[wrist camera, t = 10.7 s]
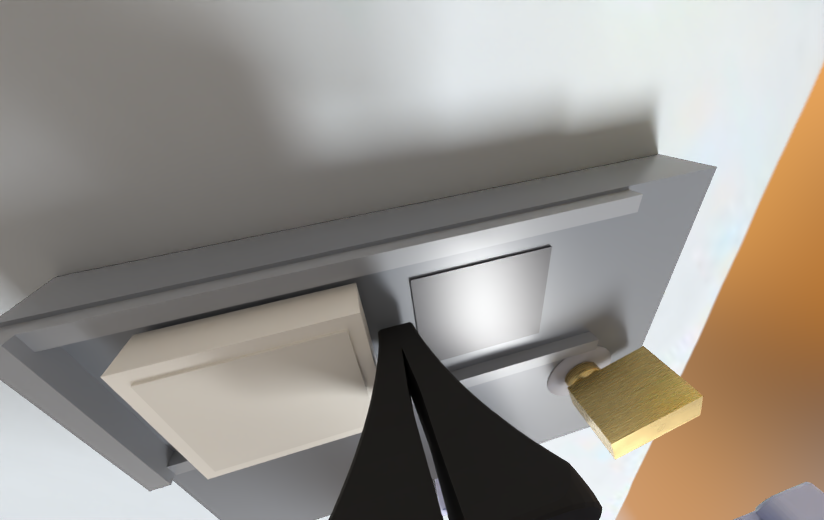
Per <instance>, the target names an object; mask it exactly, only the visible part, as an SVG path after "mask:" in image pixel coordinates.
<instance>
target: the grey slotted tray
mask: <svg viewBox="0 0 824 520" xmlns="http://www.w3.org/2000/svg"><path fill="white" fill-rule="evenodd" d="M716 168H717V167H715V166H710V165H706V164H701V163H697V162H692V161H687V160H683V159H678V158H674V157H669V156H664V155H660V154H658V155H653V156H648V157H643V158H638V159H634V160H629V161H624V162H619V163H614V164H609V165H604V166H599V167H594V168H589V169H584V170H580V171H575V172H570V173H565V174H560V175H555V176H550V177H545V178H540V179H535V180H530V181H525V182H521V183H516V184H511V185H506V186H501V187H496V188H491V189H486V190H481V191H476V192H471V193H467V194H462V195H457V196H452V197H447V198H442V199H437V200H432V201H427V202H422V203H417V204H412V205H408V206H403V207H398V208H393V209H388V210H383V211H378V212H373V213H368V214H363V215H358V216H354V217H349V218H344V219H339V220H334V221H329V222H324V223H319V224H314V225H309V226H304V227H299V228H295V229H290V230H285V231H280V232H275V233H270V234H265V235H260V236H255V237H250V238H245V239H241V240H236V241H231V242H226V243H221V244H216V245H211V246H206V247H201V248H196V249H191V250H186V251H182V252H177V253H172V254H167V255H162V256H157V257H152V258H147V259H142V260H137V261H132V262H127V263H123V264H118V265H113V266H108V267H103V268H98V269H93V270H88V271H83V272H78V273H73V274H69V275H64V276H59V277H55V278H53V279H52V280H51V281H49V282H48V283H46V284H45V285H44V286H42V287H41V288H39V289H38V290H37V291H35V292H34V293H32V294H31V295H30V296H28V297H27V298H25V299H24V300H23V301H21V302H20V303H18V304H17V305H16V306H14V307H13V308H11V309H10V310H9V311H7V312H6V313H4V314H3V315H2V316H0V380H1V381H3V382H4V383H5V384H7V385H8V386H9V387H11V388H12V389H13V390H15V391H16V392H17V393H19V394H20V395H21V396H23V397H24V398H25V399H27V400H28V401H30V402H31V403H32V404H34V405H35V406H36V407H38V408H39V409H40V410H42V411H43V412H44V413H46V414H47V415H48V416H50V417H51V418H52V419H54V420H55V421H56V422H58V423H59V424H60V425H62V426H63V427H64V428H66V429H67V430H68V431H70V432H71V433H72V434H74V435H75V436H76V437H78V438H79V439H80V440H82V441H83V442H84V443H86V444H87V445H88V446H90V447H91V448H92V449H94V450H95V451H96V452H98V453H99V454H100V455H102V456H103V457H104V458H106V459H107V460H108V461H110V462H111V463H112V464H114V465H115V466H117V467H118V468H119V469H121V470H122V471H123V472H125V473H126V474H127V475H129V476H130V477H131V478H133V479H134V480H135V481H137V482H138V483H139V484H141V485H142V486H143V487H145V488H146V489H147V490H149V491H152V490H155V489H158V488H162V487H165V486H168V485H171V483H172V481H174V482H175V483H177V484H178V485H179V486H180V487H181V488H183V489H184V490H185V491H186V492H187V493H189V494H190V495H191V496H192V497H193V498H194V499H196V500H197V501H198V502H199V503H200V504H202V505H203V506H204V507H205V508H206V509H208V510H209V511H210V512H211V513H212V514H214V515H215V516H216V517H217V518H218V519H220V520H316V519H319V518H322V517H325V516H328V515H331V513H332V511H333V509H334V506H335V504H336V502H337V499H338V497H339V494H340V492H341V489H342V487H343V484H344V482H345V479H346V477H347V474H348V472H349V469H350V466H351V464H352V461H353V458H354V455H355V452H356V449H357V446H358V443H359V440H360V437H361V434H362V432H361V433H358V434H355V435H351V436H348V437H345V438H342V439H338V440H335V441H332V442H328V443H325V444H322V445H319V446H315V447H312V448H309V449H306V450H302V451H299V452H296V453H292V454H289V455H286V456H283V457H279V458H276V459H273V460H270V461H266V462H263V463H260V464H257V465H253V466H250V467H247V468H243V469H240V470H237V471H234V472H230V473H227V474H224V475H221V476H217V477H214V478H211V479H207V478H206V477H205V476H204V475H203V474H201V473H200V472H199V471H198V470H197V469H196V468H195V467H194V466H193V465H192V464H191V463H190V462H189V461H188V460H187V459H186V458H185V457H184V456H183V455H182V454H180V453H179V452H178V451H177V450H176V449H175V448H174V447H173V446H172V445H171V444H170V443H169V442H168V441H167V440H166V439H165V438H164V437H163V436H162V435H160V434H159V433H158V432H157V431H156V430H155V429H154V428H153V427H152V426H151V425H150V424H149V423H148V422H147V421H146V420H145V419H144V418H143V417H142V416H141V415H139V414H138V413H137V412H136V411H135V410H134V409H133V408H132V407H131V406H130V405H129V404H128V403H127V402H126V401H125V400H124V399H123V398H122V397H121V396H119V395H118V394H117V393H116V392H115V391H114V390H113V389H112V388H111V387H110V386H109V385H108V384H107V383H106V382H105V381H104V380H103V379H102V378H101V376H102V374H103V373H104V372H105V371H106V369H107V368H108V367H109V365H110V364H111V363H112V361H113V360H114V359H115V358H116V356H117V355H118V354H119V352H120V351H121V350H122V348H123V347H124V346H125V345H126V343H127V342H128V341H129V339H130V338H131V337H132V336H133V335H135V334H139V333H144V332H148V331H152V330H156V329H161V328H165V327H169V326H173V325H178V324H182V323H186V322H190V321H195V320H199V319H203V318H207V317H212V316H216V315H220V314H225V313H229V312H233V311H237V310H242V309H246V308H250V307H254V306H259V305H263V304H267V303H271V302H276V301H280V300H284V299H288V298H293V297H297V296H301V295H305V294H310V293H314V292H318V291H323V290H327V289H331V288H335V287H340V286H344V285H348V284H352V283H356V285H357V288H358V292H359V296H360V299H361V303H362V307H363V311H364V314H365V318H366V322H367V325H368V329H369V333H370V337H371V340H372V344H373V348H374V351H375V355H376V359H377V360H378V348H379V338H378V332H379V331H380V330H381V329H384V328H388V327H392V326H396V325H400V324H404V323H408V322H411V323H413V325H414V327H415V329H416V330H417V332H418V333H419V335H420V336H421V338H422V339H423V340H424V342H425V343H426V344H427V346H428V347H429V348H430V350H431V351H432V352H433V353H434V354H435V356H436V357H437V358H438V359H439V360H440V361H441V363H442V364H443V365H444V366H445V367H446V368H447V369H448V370H449V371H450V372H451V373H452V374H453V375H454V376H455V377H456V379H457V380H458V381H460V382H461V383H462V384H463V385H464V386H465V387H466V388H467V389H468V390H469V391H470V392H471V393H472V394H473V395H475V396H476V397H477V398H478V399H479V400H480V401H481V402H483V403H484V404H485V405H486V406H487V407H489V408H490V409H491V410H492V411H494V412H495V413H496V414H498V415H499V416H500V417H502V418H503V419H504V420H505V421H507V422H508V423H509V424H511V425H512V426H513V427H515V428H516V429H517V430H519V431H520V432H522V433H523V434H525V435H526V436H528V437H529V438H530V439H532V440H533V441H535V442H536V443H538V444H540V443H543V442H546V441H549V440H552V439H555V438H558V437H561V436H564V435H567V434H570V433H573V432H576V431H579V430H582V429H585V428H588V427H590V426H589V424H588V423H587V422H586V420H585V419H584V418H583V417H582V415H581V414H580V413H579V411H578V410H577V409H576V407H575V406H574V405H573V403H572V400H571V397H570V395H569V392H568V389H567V387H568V386H567V385H566V383H565V378H566V375H567V374H568V373H569V372H570V371H571V370H572V369H573V368H574V367H576V366H577V365H579V364H581V363H584V362H594V363H595V364H596V365H597V366H598V367H599V368H600V369H602V368H604V367H606V366H607V365H609V364H611V363H613V362H615V361H617V360H618V359H620V358H622V357H624V356H626V355H628V354H629V353H631V352H633V351H635V350H637V349H639V348H641V347H642V345H643V342H644V340H645V337H646V335H647V333H648V330H649V328H650V326H651V323H652V321H653V318H654V316H655V314H656V311H657V309H658V306H659V304H660V302H661V299H662V297H663V294H664V292H665V290H666V287H667V285H668V283H669V280H670V278H671V275H672V273H673V271H674V268H675V266H676V263H677V261H678V259H679V256H680V254H681V251H682V249H683V247H684V244H685V242H686V240H687V237H688V235H689V232H690V230H691V228H692V225H693V223H694V220H695V218H696V216H697V213H698V211H699V208H700V206H701V204H702V201H703V199H704V197H705V194H706V192H707V189H708V187H709V185H710V182H711V180H712V177H713V175H714V173H715V170H716ZM411 399H412V397H411ZM412 405H413V411H414V416H415V419H416V423H417V427H418V430H419V434H420V438H421V441H422V445H423V449H424V452H425V456H426V459H427V463H428V467H429V470H430V474H431V477H432V480H434V479H437V478H438V477H437V473H436V469H435V465H434V462H433V458H432V454H431V451H430V448H429V445H428V442H427V439H426V436H425V434H424V431H423V428H422V425H421V422H420V420H419V417H418V414H417V411H416V408H415V406H414V403H413V400H412Z"/></svg>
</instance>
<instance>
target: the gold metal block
mask: <svg viewBox="0 0 824 520" xmlns="http://www.w3.org/2000/svg"><path fill="white" fill-rule="evenodd" d="M565 383H566V385H567V386H568V387H567V389H568V392H569V395H570V397H571V400H572V403H573V405H574V406H575V407H576V409H577V410H578V411H579V413H580V414H581V415H582V417H583V418H584V419H585V420H586V422H587V423H588V424H589V426H590V427H591V428H592V430H593V431H594V432H595V434H596V435H597V436H598V438H599V439H600V440H601V441H602V443H603V444H604V445H605V447H606V448H607V449H608V451H609V452H610V453H611V455H612V456H613V457H614V458H615V459H617V458H619V457H621V456H623V455H625V454H627V453H629V452H631V451H632V450H634V449H636V448H638V447H640V446H642V445H644V444H646V443H648V442H650V441H652V440H654V439H655V438H657V437H659V436H661V435H663V434H665V433H667V432H669V431H671V430H673V429H675V428H677V427H678V426H680V425H682V424H684V423H686V422H688V421H690V420H692V419H694V418H696V417H698V416H699V415H700V413H701V406H702V400H703V396H702V395H701V394H700V393H699V392H698V391H696V390H695V389H694V388H693V387H692V386H690V385H689V384H688V383H687V382H686V381H685V380H683V379H682V378H681V377H680V376H679V375H677V374H676V373H675V372H674V371H673V370H671V369H670V368H669V367H668V366H667V365H665V364H664V363H663V362H662V361H661V360H659V359H658V358H657V357H656V356H655V355H653V354H652V353H651V352H650V351H649V350H647V349H646V348H645V347H644V346H642V347H641V348H639V349H637V350H635V351H633V352H631V353H629V354H628V355H626V356H624V357H622V358H620V359H618V360H617V361H615V362H613V363H611V364H609V365H607V366H606V367H604V368H602V369H600V368H599V367H598V366H597V365H596V364H595V363H594V362H584V363H581V364H579V365H577V366H576V367H574V368H573V369H572V370H571V371H570V372H569V373H568V374H567V375H566V378H565Z"/></svg>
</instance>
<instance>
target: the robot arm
mask: <svg viewBox="0 0 824 520" xmlns="http://www.w3.org/2000/svg"><path fill="white" fill-rule="evenodd" d="M378 338H379V348H378V360H377V368H376V375H375V381H374V386H373V391H372V396H371V400H370V405H369V409H368V413H367V417H366V420H365V424H364V427H363V431H362V434H361V437H360V440H359V443H358V446H357V449H356V452H355V455H354V458H353V461H352V464H351V466H350V469H349V472H348V474H347V477H346V479H345V482H344V484H343V487H342V489H341V492H340V494H339V497H338V499H337V502H336V504H335V506H334V509H333V511H332V513H331V515H330V518H329V520H443V516H444V515H448V518H449V520H599V518H600V516H601V513H602V507H601V505H600V503H599V501H598V500H597V498H596V496H595V495H594V493H593V492H592V490H591V489H590V488H589V486H588V485H587V484H586V483H585V481H584V480H583V479H582V478H581V476H580V475H579V474H578V473H577V472H576V470H575V469H574V468H573V467H572V466H571V465H570V464H569V463H568V462H567V461H565V460H563V459H562V458H560V457H558V456H557V455H555V454H554V453H552V452H550V451H549V450H547V449H546V448H544V447H543V446H541V445H539V444H538V443H536V442H535V441H533V440H532V439H530V438H529V437H528V436H526V435H525V434H523V433H522V432H520V431H519V430H517V429H516V428H515V427H513V426H512V425H511V424H509V423H508V422H507V421H505V420H504V419H503V418H502V417H500V416H499V415H498V414H496V413H495V412H494V411H492V410H491V409H490V408H489V407H487V406H486V405H485V404H484V403H483V402H481V401H480V400H479V399H478V398H477V397H476V396H475V395H473V394H472V393H471V392H470V391H469V390H468V389H467V388H466V387H465V386H464V385H463V384H462V383H461V382H460V381H458V380H457V379H456V377H455V376H454V375H453V374H452V373H451V372H450V371H449V370H448V369H447V368H446V367H445V366H444V365H443V364H442V363H441V361H440V360H439V359H438V358H437V357H436V356H435V354H434V353H433V352H432V351H431V350H430V348H429V347H428V346H427V344H426V343H425V342H424V340H423V339H422V338H421V336H420V335H419V333H418V332H417V330H416V329H415V327H414V325H413V323H411V322H408V323H404V324H400V325H396V326H392V327H388V328H384V329H381V330H380V331H379V332H378ZM411 397H412V399H411ZM412 400H413V403H414V406H415V408H416V411H417V414H418V417H419V420H420V422H421V425H422V428H423V431H424V434H425V436H426V439H427V442H428V445H429V448H430V451H431V454H432V458H433V462H434V465H435V469H436V473H437V477H438V478H437V479H435V485H436V491H437V495H436V492H435V488H434V485H433V481H432V477H431V474H430V470H429V467H428V463H427V459H426V456H425V452H424V449H423V445H422V441H421V438H420V434H419V430H418V427H417V423H416V419H415V416H414V411H413V405H412ZM437 497H438V499H437ZM442 515H443V516H442ZM734 520H824V493H823V492H822V491H821V490H819V489H818V488H817V487H816V486H814V485H813V484H812V483H809V482H804V483H802V484H799V485H797V486H795V487H792V488H790V489H787V490H785V491H782V492H780V493H778V494H776V495H773V496H772V497H770V498H768V499H766V500H765V501H763V502H762V503H761V504H759V505H758V506H757V507H756V510H755V511H753V512H751V513H749V514H746V515H744V516H741V517H739V518H737V519H734Z"/></svg>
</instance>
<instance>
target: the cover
mask: <svg viewBox="0 0 824 520" xmlns="http://www.w3.org/2000/svg"><path fill="white" fill-rule="evenodd" d="M376 368H377V359H376V355H375V351H374V348H373V344H372V340H371V337H370V333H369V329H368V325H367V322H366V318H365V314H364V311H363V307H362V303H361V299H360V296H359V292H358V288H357V285H356V283H352V284H348V285H344V286H340V287H335V288H331V289H327V290H323V291H318V292H314V293H310V294H305V295H301V296H297V297H293V298H288V299H284V300H280V301H276V302H271V303H267V304H263V305H259V306H254V307H250V308H246V309H242V310H237V311H233V312H229V313H225V314H220V315H216V316H212V317H207V318H203V319H199V320H195V321H190V322H186V323H182V324H178V325H173V326H169V327H165V328H161V329H156V330H152V331H148V332H144V333H139V334H135V335H133V336H132V337H131V338H130V339H129V341H128V342H127V343H126V345H125V346H124V347H123V348H122V350H121V351H120V352H119V354H118V355H117V356H116V358H115V359H114V360H113V361H112V363H111V364H110V365H109V367H108V368H107V369H106V371H105V372H104V373H103V374H102V376H101V378H102V379H103V380H104V381H105V382H106V383H107V384H108V385H109V386H110V387H111V388H112V389H113V390H114V391H115V392H116V393H117V394H118V395H119V396H121V397H122V398H123V399H124V400H125V401H126V402H127V403H128V404H129V405H130V406H131V407H132V408H133V409H134V410H135V411H136V412H137V413H138V414H139V415H141V416H142V417H143V418H144V419H145V420H146V421H147V422H148V423H149V424H150V425H151V426H152V427H153V428H154V429H155V430H156V431H157V432H158V433H159V434H160V435H162V436H163V437H164V438H165V439H166V440H167V441H168V442H169V443H170V444H171V445H172V446H173V447H174V448H175V449H176V450H177V451H178V452H179V453H180V454H182V455H183V456H184V457H185V458H186V459H187V460H188V461H189V462H190V463H191V464H192V465H193V466H194V467H195V468H196V469H197V470H198V471H199V472H200V473H201V474H203V475H204V476H205V477H206V478H207V479H211V478H214V477H217V476H221V475H224V474H227V473H230V472H234V471H237V470H240V469H243V468H247V467H250V466H253V465H257V464H260V463H263V462H266V461H270V460H273V459H276V458H279V457H283V456H286V455H289V454H292V453H296V452H299V451H302V450H306V449H309V448H312V447H315V446H319V445H322V444H325V443H328V442H332V441H335V440H338V439H342V438H345V437H348V436H351V435H355V434H358V433H361V432H362V431H363V427H364V424H365V420H366V417H367V413H368V409H369V405H370V400H371V396H372V391H373V386H374V381H375V375H376Z"/></svg>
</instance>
